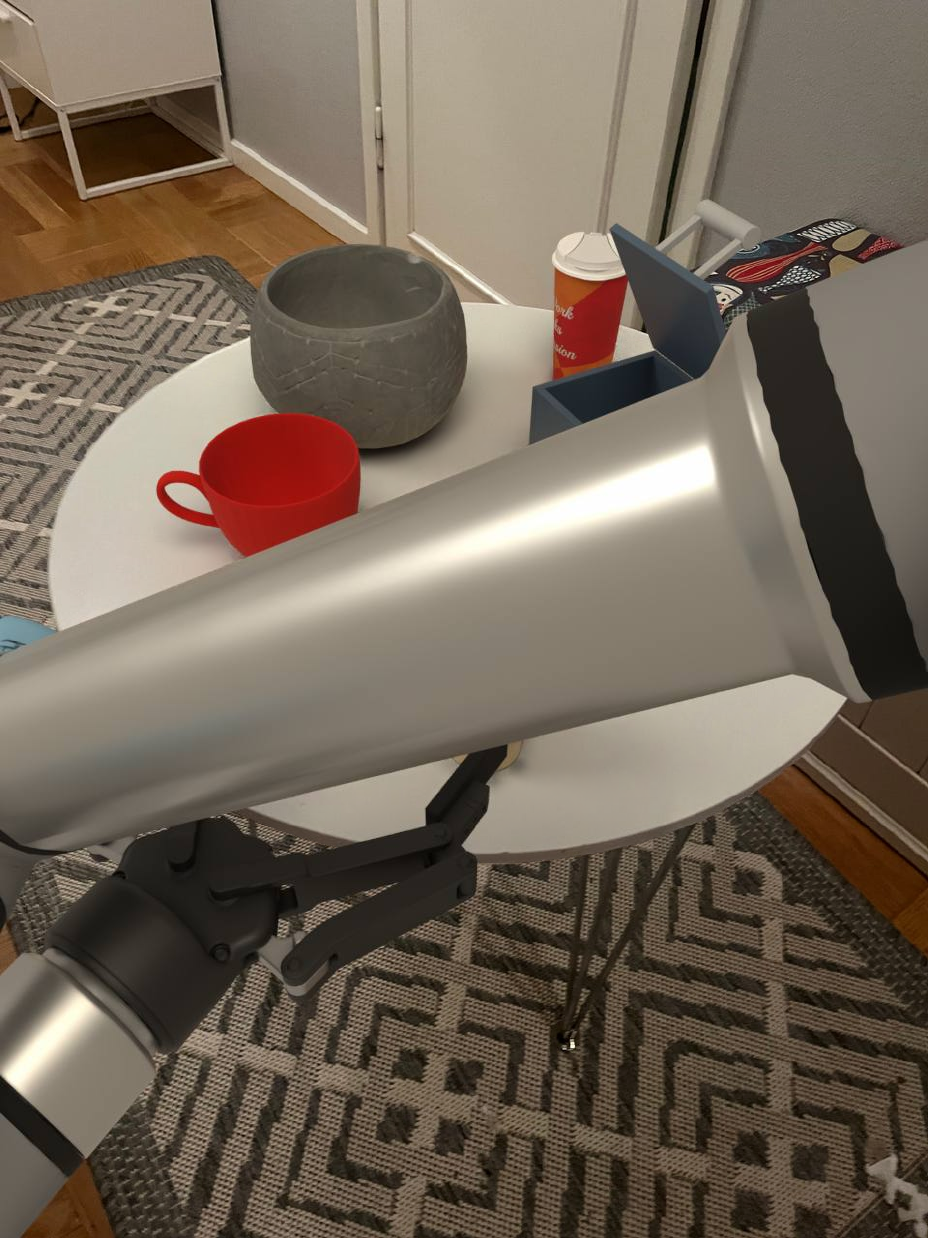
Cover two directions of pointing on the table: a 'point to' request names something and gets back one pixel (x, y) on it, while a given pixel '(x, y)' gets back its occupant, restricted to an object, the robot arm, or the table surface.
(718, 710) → the table surface
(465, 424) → the table surface
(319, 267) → the bowl
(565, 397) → the open box
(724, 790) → the table surface
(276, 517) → the ceramic cup
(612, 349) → the coffee cup
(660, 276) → the box lid
